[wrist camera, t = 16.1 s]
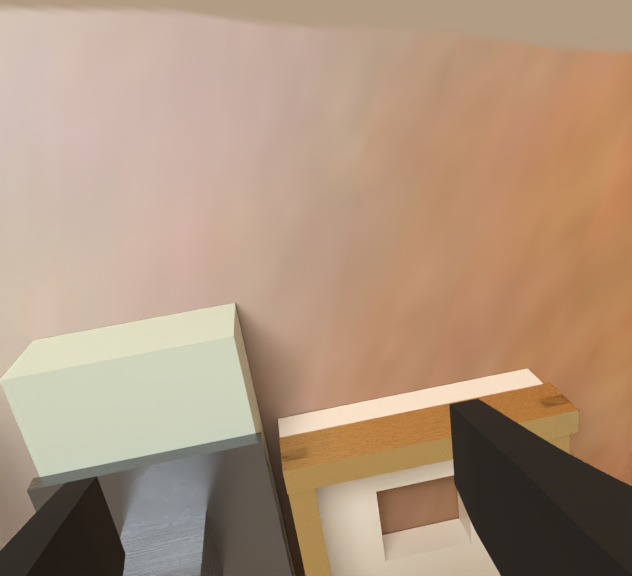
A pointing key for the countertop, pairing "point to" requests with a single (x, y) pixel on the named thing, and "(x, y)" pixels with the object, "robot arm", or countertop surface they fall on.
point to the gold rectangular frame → (398, 452)
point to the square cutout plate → (134, 391)
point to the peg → (190, 510)
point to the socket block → (360, 495)
